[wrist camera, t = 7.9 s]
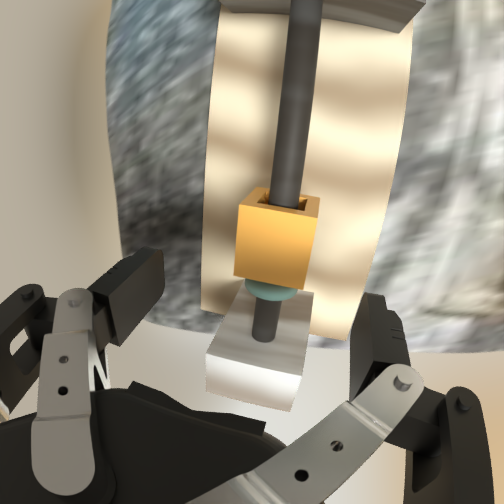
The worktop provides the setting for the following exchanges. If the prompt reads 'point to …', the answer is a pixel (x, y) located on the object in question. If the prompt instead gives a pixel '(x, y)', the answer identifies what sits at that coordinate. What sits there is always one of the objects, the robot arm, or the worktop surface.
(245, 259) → the sleeve
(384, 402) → the robot arm
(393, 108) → the cord board
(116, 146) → the worktop surface
